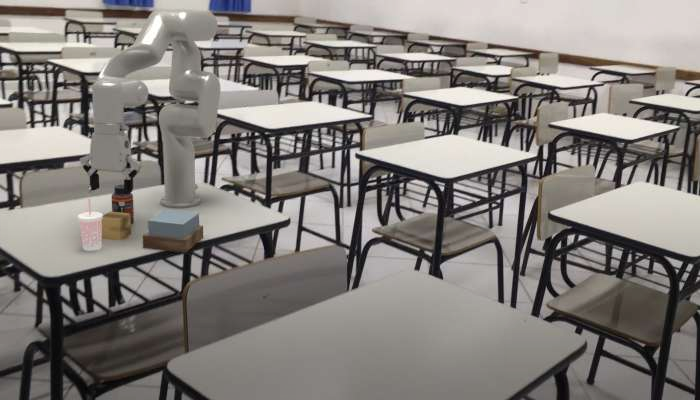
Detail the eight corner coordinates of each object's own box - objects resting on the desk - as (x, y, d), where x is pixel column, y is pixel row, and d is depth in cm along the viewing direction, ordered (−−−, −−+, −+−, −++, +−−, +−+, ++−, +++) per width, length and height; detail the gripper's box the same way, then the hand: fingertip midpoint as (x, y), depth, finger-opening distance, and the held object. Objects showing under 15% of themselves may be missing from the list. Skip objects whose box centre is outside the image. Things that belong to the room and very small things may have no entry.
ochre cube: (111, 231, 195) (110, 211, 193) (131, 233, 194) (130, 213, 192) (100, 238, 189) (98, 218, 187) (120, 241, 188) (119, 220, 186)
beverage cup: (95, 241, 186) (92, 192, 182) (109, 247, 183) (106, 196, 179) (75, 247, 182) (71, 196, 178) (89, 253, 178) (85, 201, 174)
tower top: (165, 222, 193) (165, 209, 192) (199, 226, 191) (199, 213, 190) (148, 234, 184) (147, 220, 182) (183, 238, 182) (183, 224, 180)
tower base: (163, 234, 195) (162, 221, 194) (203, 239, 193) (203, 225, 192) (143, 249, 184) (142, 235, 183) (185, 254, 182) (185, 240, 181)
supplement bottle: (127, 228, 198) (125, 190, 195) (108, 225, 199) (106, 187, 196) (138, 221, 203) (136, 184, 200) (119, 219, 205) (117, 182, 201)
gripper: (146, 128, 184) (148, 190, 189) (86, 123, 187) (89, 184, 192) (132, 133, 177) (135, 197, 182) (71, 128, 180) (74, 191, 185)
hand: (111, 191), depth 187 cm, fingers open, 9 cm apart
